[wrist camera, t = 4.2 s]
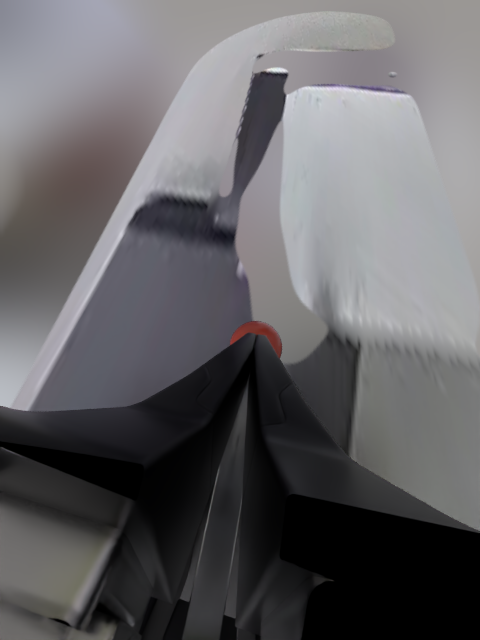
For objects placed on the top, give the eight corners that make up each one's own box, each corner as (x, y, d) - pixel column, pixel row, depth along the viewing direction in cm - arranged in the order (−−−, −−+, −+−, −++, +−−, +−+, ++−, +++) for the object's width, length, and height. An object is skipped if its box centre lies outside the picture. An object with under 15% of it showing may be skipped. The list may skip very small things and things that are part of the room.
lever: (236, 331, 13) (235, 306, 10) (280, 339, 13) (289, 316, 10) (137, 730, 6) (66, 926, 4) (227, 770, 6) (216, 1017, 3)
